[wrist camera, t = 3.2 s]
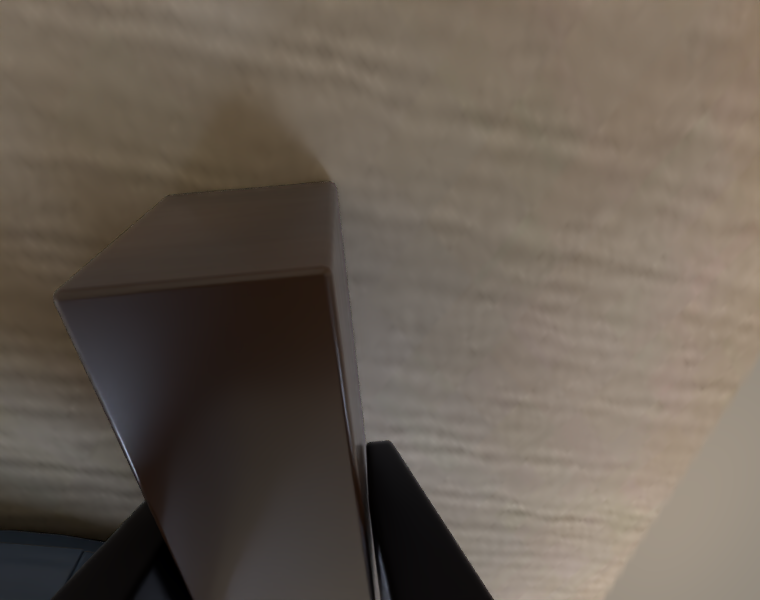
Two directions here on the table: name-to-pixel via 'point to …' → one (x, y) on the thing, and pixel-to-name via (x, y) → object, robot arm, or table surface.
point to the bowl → (40, 563)
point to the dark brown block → (236, 388)
